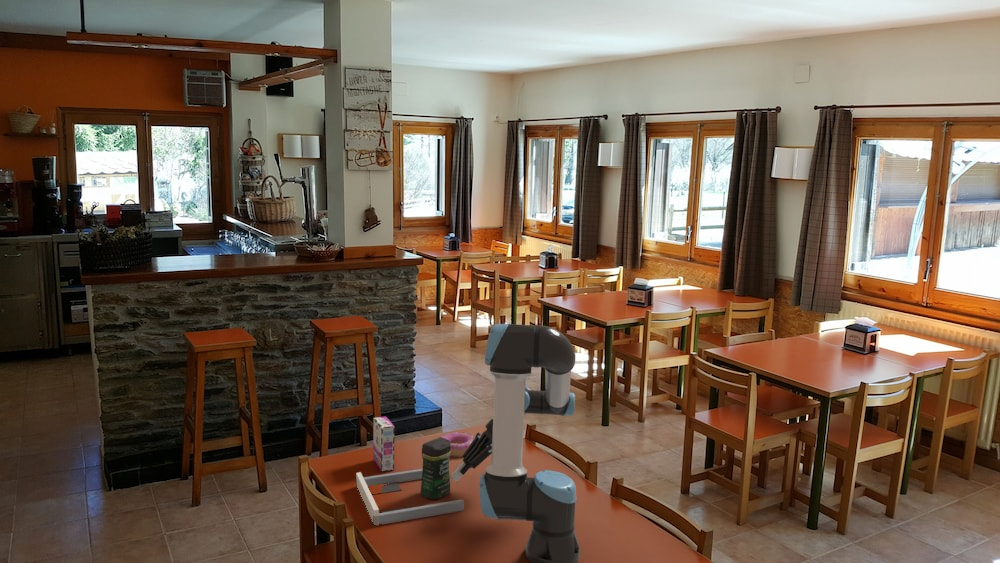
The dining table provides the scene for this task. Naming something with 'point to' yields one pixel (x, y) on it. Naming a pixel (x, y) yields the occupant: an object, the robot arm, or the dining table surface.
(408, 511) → the channel
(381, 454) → the candy bar box
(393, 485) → the trap pads
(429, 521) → the dining table surface
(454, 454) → the donut
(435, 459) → the coffee jar
